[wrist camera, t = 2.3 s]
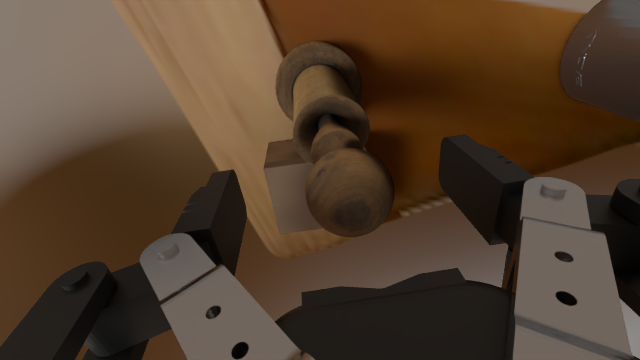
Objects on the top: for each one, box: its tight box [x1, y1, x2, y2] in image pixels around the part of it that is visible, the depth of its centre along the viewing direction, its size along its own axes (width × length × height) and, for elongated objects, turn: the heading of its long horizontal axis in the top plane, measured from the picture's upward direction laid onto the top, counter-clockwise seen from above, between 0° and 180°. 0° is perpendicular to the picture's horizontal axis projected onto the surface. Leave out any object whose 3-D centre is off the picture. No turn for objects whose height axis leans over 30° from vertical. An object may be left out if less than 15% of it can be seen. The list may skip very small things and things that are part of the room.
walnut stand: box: [264, 139, 367, 234], centre depth 26 cm, size 8×6×5 cm
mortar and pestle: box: [276, 41, 394, 237], centre depth 17 cm, size 7×6×18 cm
